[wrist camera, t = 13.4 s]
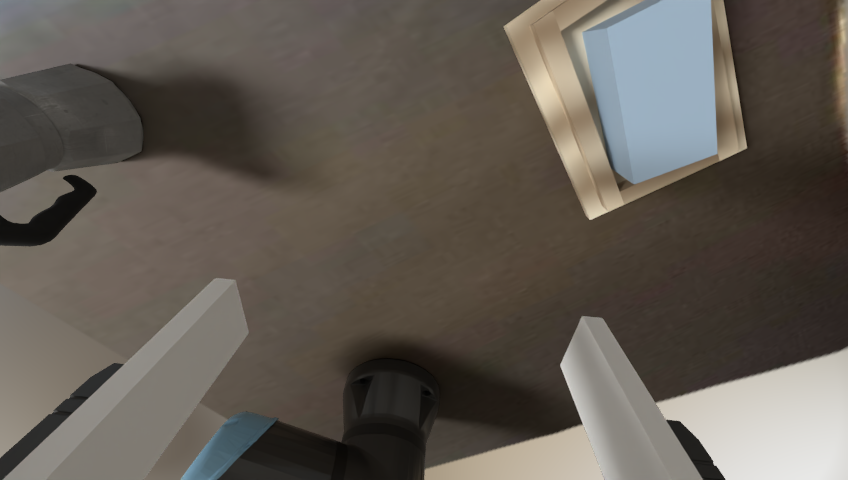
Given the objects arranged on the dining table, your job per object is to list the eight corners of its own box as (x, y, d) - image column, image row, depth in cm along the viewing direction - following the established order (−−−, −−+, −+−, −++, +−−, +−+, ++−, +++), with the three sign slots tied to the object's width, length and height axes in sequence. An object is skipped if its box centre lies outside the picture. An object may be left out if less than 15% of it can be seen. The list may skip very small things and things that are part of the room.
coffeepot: (15, 98, 32) (-403, 142, 16) (39, 19, 28) (-470, -25, 12) (163, 204, 37) (-45, 315, 21) (200, 149, 33) (-18, 234, 18)
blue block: (581, 32, 25) (606, 28, 21) (666, -11, 23) (710, -24, 19) (610, 167, 30) (634, 184, 26) (680, 140, 28) (717, 153, 25)
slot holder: (736, 144, 29) (761, 152, 27) (585, 215, 34) (595, 226, 32) (692, -109, 22) (722, -128, 19) (503, 26, 26) (508, 23, 24)
